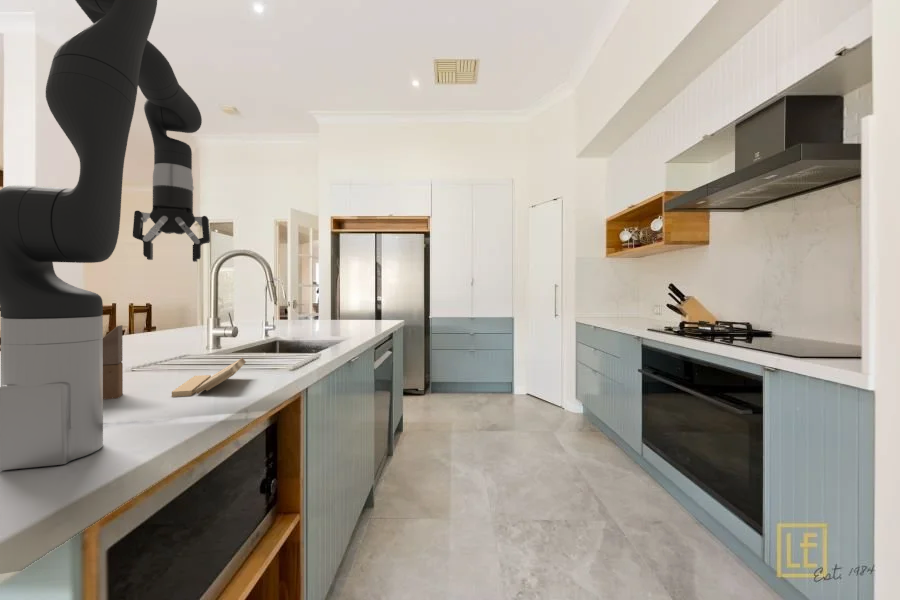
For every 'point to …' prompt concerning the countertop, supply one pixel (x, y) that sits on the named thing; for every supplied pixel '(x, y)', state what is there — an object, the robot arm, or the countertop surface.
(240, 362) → the board
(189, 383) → the floor section
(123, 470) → the countertop surface
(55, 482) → the countertop surface
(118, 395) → the wooden block
